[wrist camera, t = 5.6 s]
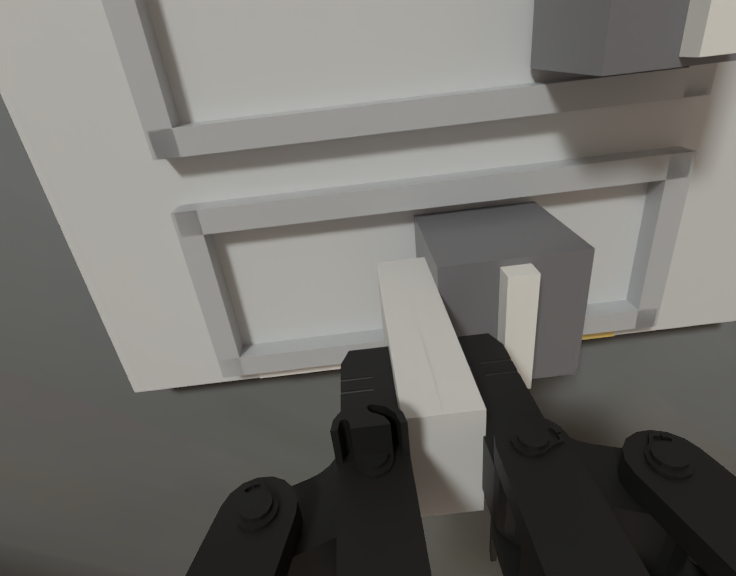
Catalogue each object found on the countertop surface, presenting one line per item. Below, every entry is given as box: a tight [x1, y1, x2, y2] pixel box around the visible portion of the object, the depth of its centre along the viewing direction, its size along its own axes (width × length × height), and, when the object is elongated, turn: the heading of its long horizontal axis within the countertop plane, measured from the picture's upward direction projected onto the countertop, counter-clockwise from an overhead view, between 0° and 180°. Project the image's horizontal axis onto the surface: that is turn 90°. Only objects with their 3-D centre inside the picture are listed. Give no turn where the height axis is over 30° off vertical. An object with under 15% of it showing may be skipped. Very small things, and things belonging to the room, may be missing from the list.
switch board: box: [0, 0, 736, 392], centre depth 14 cm, size 24×16×2 cm, turn 96°
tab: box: [414, 201, 595, 389], centre depth 14 cm, size 4×4×5 cm
